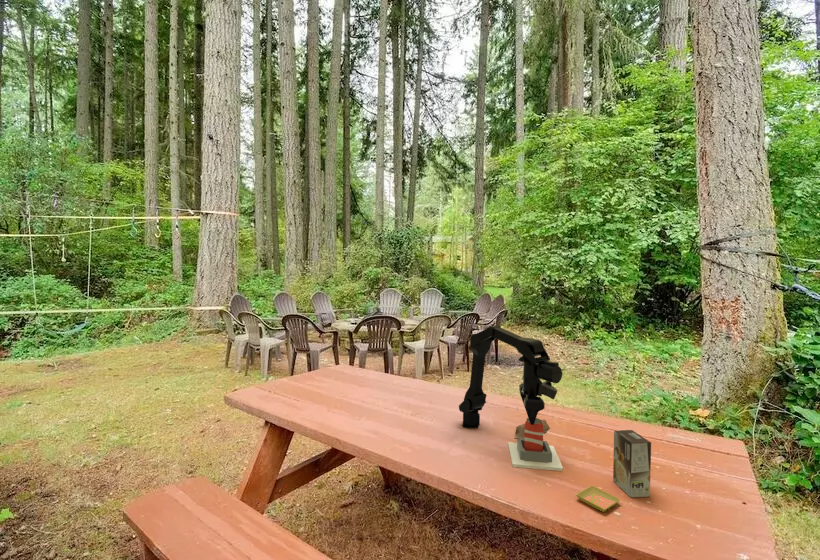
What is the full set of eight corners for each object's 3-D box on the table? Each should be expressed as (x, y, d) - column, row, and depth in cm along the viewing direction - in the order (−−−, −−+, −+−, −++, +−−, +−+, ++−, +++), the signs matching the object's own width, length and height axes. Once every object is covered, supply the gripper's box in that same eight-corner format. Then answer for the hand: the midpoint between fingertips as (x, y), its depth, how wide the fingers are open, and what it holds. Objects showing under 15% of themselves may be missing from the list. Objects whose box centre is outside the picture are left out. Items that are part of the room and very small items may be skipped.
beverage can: (542, 451, 140) (543, 418, 139) (542, 459, 134) (542, 425, 133) (525, 448, 142) (525, 415, 141) (523, 456, 136) (524, 422, 135)
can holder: (512, 466, 131) (512, 455, 131) (508, 445, 147) (508, 434, 146) (562, 471, 128) (563, 459, 128) (553, 448, 144) (553, 437, 144)
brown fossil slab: (528, 444, 148) (528, 441, 148) (503, 435, 156) (503, 432, 156) (559, 425, 166) (559, 422, 166) (535, 418, 173) (535, 415, 173)
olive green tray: (591, 491, 118) (591, 484, 118) (621, 506, 111) (621, 498, 110) (575, 501, 113) (575, 494, 113) (604, 517, 106) (604, 509, 106)
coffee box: (651, 496, 114) (652, 442, 114) (630, 498, 114) (632, 443, 113) (631, 479, 123) (632, 429, 123) (611, 480, 123) (612, 430, 122)
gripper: (561, 385, 128) (559, 432, 129) (550, 369, 146) (549, 410, 147) (526, 383, 130) (524, 429, 130) (519, 368, 148) (518, 408, 149)
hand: (530, 419), depth 139 cm, fingers open, 9 cm apart
